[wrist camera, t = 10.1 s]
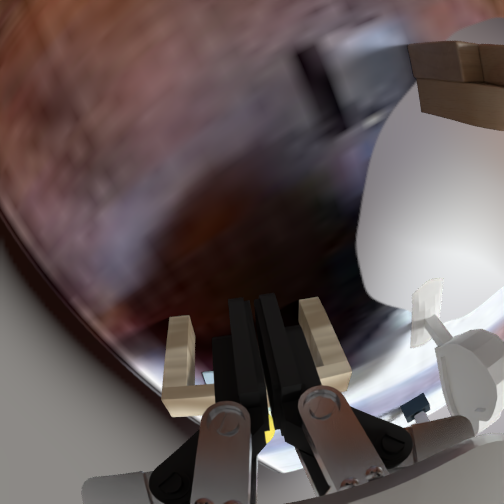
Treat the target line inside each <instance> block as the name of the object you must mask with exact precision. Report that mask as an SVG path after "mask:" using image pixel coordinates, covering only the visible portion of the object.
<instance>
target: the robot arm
mask: <svg viewBox="0 0 504 504" xmlns="http://www.w3.org/2000/svg"><path fill="white" fill-rule="evenodd" d="M228 304H229V314H230V324H231V333H232V335H228V336H220V337H213V338H212V352H213V373H214V391H215V404H213V405H211V406H210V407H208V408H207V409H206V411H205V412H204V413H203V416H202V419H201V424H200V429H199V430H198V431H197V432H196V433H195V434H194V435H193V436H192V437H191V438H190V439H188V440H187V441H186V442H185V443H184V444H183V445H182V446H181V447H180V448H179V449H178V450H176V451H175V452H174V453H173V454H172V455H171V456H170V457H169V458H167V459H166V460H165V461H164V462H163V463H161V464H160V465H159V466H158V467H157V468H156V469H155V470H154V471H150V472H143V471H139V472H133V473H126V474H118V475H109V476H101V477H100V476H99V477H93V478H89V479H88V480H86V481H85V482H84V484H83V486H82V500H83V504H257V479H258V454H259V452H260V451H261V450H262V449H263V448H264V447H265V446H266V438H265V431H270V426H269V414H268V402H267V395H268V400H269V405H270V410H271V415H272V420H273V425H274V429H275V430H277V429H280V430H281V435H282V436H284V439H285V442H287V443H289V444H291V445H293V446H294V447H295V450H296V452H297V454H298V456H299V459H300V461H301V463H302V466H303V468H304V470H305V472H306V475H307V477H308V479H309V481H310V484H311V486H312V488H313V490H314V492H315V495H316V497H315V498H311V499H307V500H302V501H297V502H292V503H286V504H504V434H502V433H490V434H483V435H479V436H475V434H474V430H473V427H472V424H471V422H470V421H469V420H468V419H467V418H466V417H464V416H461V415H456V416H451V417H448V418H443V419H438V420H433V421H429V422H423V423H418V424H412V425H411V426H410V427H406V428H402V427H400V426H398V425H395V424H393V423H390V422H387V421H385V420H382V419H380V418H377V417H375V416H372V415H370V414H367V413H365V412H362V411H360V410H357V409H355V408H353V407H350V406H349V404H348V402H347V401H346V399H345V397H344V396H343V395H342V393H341V392H340V391H339V390H337V389H335V388H334V387H330V386H325V385H322V384H321V381H320V378H319V375H318V372H317V369H316V366H315V364H314V361H313V358H312V355H311V352H310V349H309V346H308V344H307V341H306V338H305V335H304V332H303V330H302V327H301V326H300V325H295V326H289V327H284V323H283V320H282V317H281V313H280V310H279V307H278V303H277V300H276V297H275V294H274V293H270V294H263V295H259V299H256V300H254V306H255V316H256V326H257V336H258V343H257V338H256V333H255V328H254V322H253V317H252V312H251V306H250V301H243V297H242V298H235V299H228ZM258 346H259V348H258ZM259 353H260V354H259ZM265 384H266V385H265ZM266 389H267V392H266Z"/></svg>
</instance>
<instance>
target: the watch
mask: <svg viewBox="0 0 504 504" xmlns="http://www.w3.org/2000/svg"><path fill="white" fill-rule="evenodd" d="M400 407H401V409H402V412H403V414H404V416H405V418H406V420H407V422H408V423H409V422H410V421H412V420H414V419H415V421H416V424H418V423H423V422H429V421H430V420H429V419H428V417H427V414H426V412H427V411H429V410H430V405H429V402H428V401H427V399H426V397H425V395H424V393H422V394H421V395H419V396H417V397H416V398H414V399H412V400H411V401H409V402H407V403H406V404H404V405H402V406H400Z"/></svg>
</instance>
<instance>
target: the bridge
mask: <svg viewBox="0 0 504 504" xmlns="http://www.w3.org/2000/svg"><path fill="white" fill-rule="evenodd" d="M299 324H300V326H301V327H302V330H303V332H304V335H305V338H306V341H307V344H308V346H309V349H310V352H311V355H312V358H313V361H314V364H315V366H316V369H317V372H318V375H319V378H320V381H321V384H322V385H325V386H330V387H334V388H335V389H337V390H339V391H340V392H344V391H347V387H348V384H349V381H350V377H351V374H352V370H351V367H350V365H349V363H348V361H347V358H346V356H345V354H344V352H343V349H342V347H341V345H340V343H339V341H338V338H337V336H336V334H335V332H334V330H333V327H332V325H331V323H330V321H329V319H328V317H327V315H326V312H325V310H324V308H323V306H322V304H321V302H320V300H319V298H318V297H314V298H308V299H302V300H299ZM265 385H266V384H265ZM266 392H267V389H266ZM162 401H163V403H164V405H165V406H166V408H167V409H168V411H169V412H170V414H171V416H172V417H182V416H199V415H203V413H204V412H205V411H206V409H207V408H208V407H210V406H211V405H213V404H215V391H214V384H204V385H195V334H194V330H193V327H192V324H191V320H190V317H189V315H187V316H178V317H170V319H169V327H168V335H167V344H166V354H165V364H164V374H163V386H162ZM267 402H268V407H270V405H269V400H268V395H267Z"/></svg>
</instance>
